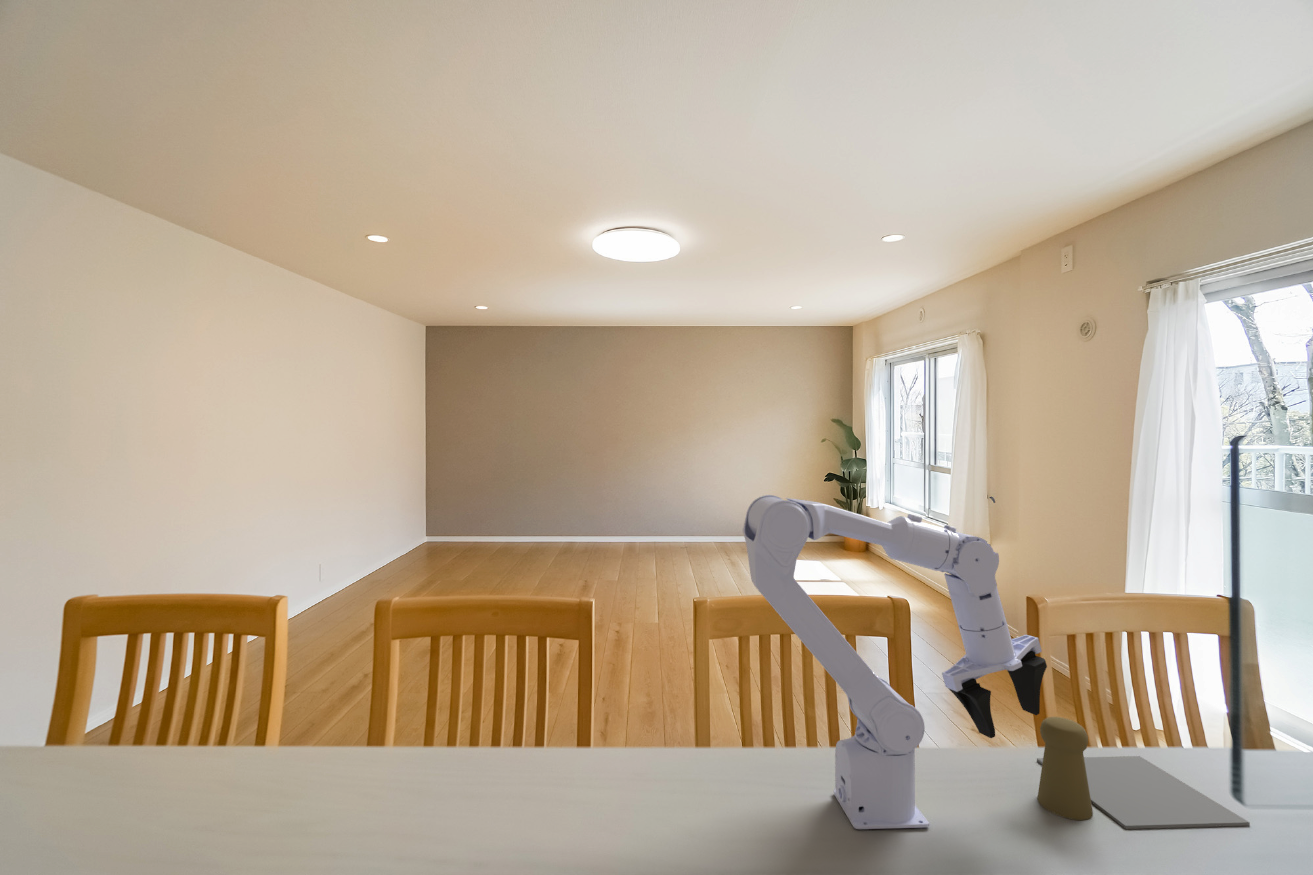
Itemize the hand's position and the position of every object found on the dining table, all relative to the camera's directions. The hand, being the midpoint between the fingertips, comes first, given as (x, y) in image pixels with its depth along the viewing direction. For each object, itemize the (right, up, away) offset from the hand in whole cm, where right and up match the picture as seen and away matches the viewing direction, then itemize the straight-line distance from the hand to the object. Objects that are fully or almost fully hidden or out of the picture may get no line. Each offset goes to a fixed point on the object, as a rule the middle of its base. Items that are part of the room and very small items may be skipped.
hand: (1009, 722), depth 78 cm
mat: (+19, -11, +4) cm, 22 cm away
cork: (+7, -11, 0) cm, 13 cm away
